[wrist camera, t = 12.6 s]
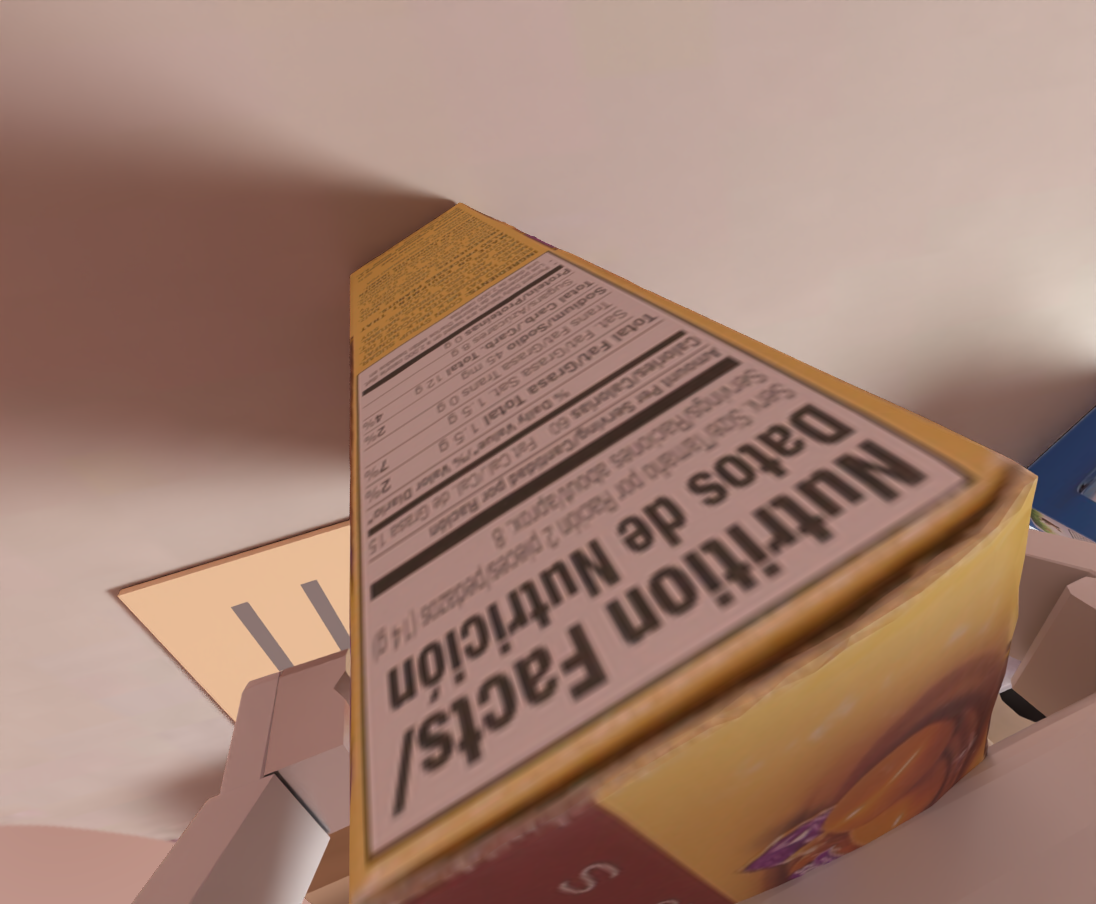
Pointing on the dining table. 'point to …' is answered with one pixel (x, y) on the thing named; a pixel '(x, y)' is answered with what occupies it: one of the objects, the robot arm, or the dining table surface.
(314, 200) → the dining table surface
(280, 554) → the letter
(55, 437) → the dining table surface
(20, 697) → the dining table surface
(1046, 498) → the milk carton
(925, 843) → the robot arm
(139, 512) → the dining table surface
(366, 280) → the candy box
